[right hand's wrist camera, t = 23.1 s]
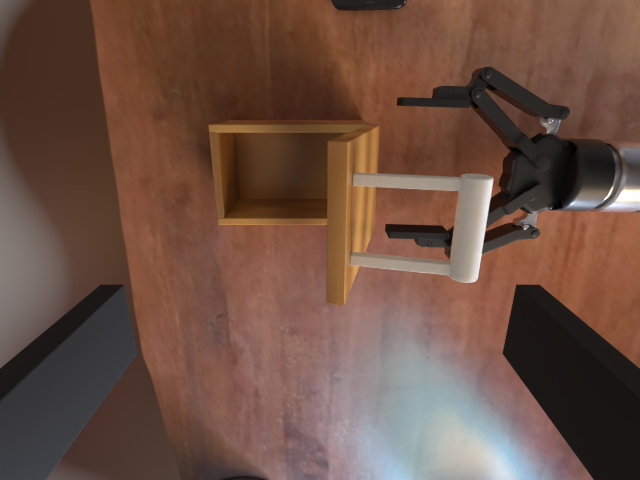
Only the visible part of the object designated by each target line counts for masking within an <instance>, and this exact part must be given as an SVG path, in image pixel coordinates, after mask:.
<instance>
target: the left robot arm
mask: <svg viewBox="0 0 640 480" xmlns="http://www.w3.org/2000/svg"><path fill="white" fill-rule="evenodd" d="M485 88H486V89H488V90H490V91H491V92H493V93H494V94H496V95H498V96H499V97H501V98H502V99H504V100H506V101H507V102H509V103H510V104H512V105H513V106H515V107H517V108H518V109H520V110H521V111H523V112H525V113H526V114H528V115H531V116H535V117H536V118H535V122H536V124H537V125H539V126H541V128H542V133H540V134H537V135H536V136H534V137H533V138H531V139H529V137H528V136H526V135H525V134H523V133H522V132H521V131H520V130H519V129H518V128H517V126H516V125H515V124H514V123H513V122H512V121H511V120H510V119H509V117H508V116H507V115H506V114H505V113H504V112H503V111H502V110H501V109H500V107H499V106H498V105H497V104H496V103H495V102H494V101H493V100H492V98H491V97H490V96H489V95H488V94H487V93H486V92H485V91H484V90H485ZM397 106H426V107H458V108H469V106H471V107H472V108H473V109H474V110H475V111H476V112H477V113H478V115H479V116H480V117H481V118H482V119H483V120H484V121H485V122H486V123H487V124H488V125H489V127H490V128H491V129H492V130H493V131H494V132H495V133H496V134H497V135H498V136H499V137H500V139H501V140H502V142H503V144H504V145H505V146H506V147H507V148H508V149H509V150H510V151H511V152H510V153H509V154H508V155H507V157H504V160H503V173H502V175H501V178H500V181H499V186H500V187H501V192H499V193H498V194H496V195H495V196H493V197H492V198H491V200H490V204H489V210H488V217H487V223H486V228H487V227H489V226H490V225H491V224H493V223H494V222H496V221H497V220H499V219H500V218H502V217H503V216H505V215H509V214H512V213H513V212H515V211H516V210H518V209H519V208H520V209H521V210H523V211H524V213H523V215H522V216H521V217H519V218H515V219H513V223H507V224H504V225H501V226H499V227H496V228H494V229H491V230H489V231H486V232H485V236H484V242H483V248H482V254H484V253H487V252H489V251H492V250H494V249H497V248H499V247H502V246H504V245H507V244H509V243H512V242H514V241H517V240H522V239H534V238H537V237H538V236H539V235H540V230H539V229H537V228H536V227H535V226H536V218H537V213H540V212H542V211H545V210H560V211H589V210H590V211H595V212H640V141H625V140H601V141H600V140H595V139H565V138H559V137H558V136H556V133H557V130H558V127H559V124H560V121H561V120H562V119H566V118H567V117H568V115H569V112H570V111H569V109H568V108H567V107H564V106H558V105H552V104H548V103H547V102H545V101H543V100H542V99H540V98H539V97H537V96H536V95H534V94H533V93H531V92H529V91H528V90H526V89H525V88H523V87H522V86H520V85H519V84H517V83H515V82H514V81H512V80H511V79H509V78H508V77H506V76H505V75H503V74H501V73H500V72H498V71H497V70H495V69H494V68H492V67H484V68H479V69H476V70H475V71H474V72H473V74H472V79H471V81H470V83H469V84H468V85H467V86H465V87H458V86H439V87H436V88H434V89H433V96H432V98H405V97H402V98H397ZM385 231H386V233H387V235H388V237H389V238H399V239H415V242H416V244H417V245H418V246H421V247H443V248H445V254H446V256H447V257H448V258H449V259H450V254H451V246H452V238H453V231H454V226H453V227H452V228H451V229H449V230H448V231H447V230H446V229H445V228H444V227H443V226H434V225H399V224H386V226H385ZM482 254H481V255H482Z"/></svg>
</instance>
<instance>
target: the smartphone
mask: <svg viewBox="0 0 640 480" xmlns="http://www.w3.org/2000/svg"><path fill="white" fill-rule="evenodd" d="M406 1H407V0H332V2H333V5H334V7H335V8H337V9H338V10H388V9H399V8H401V7H403V6H404V5H405V3H406Z"/></svg>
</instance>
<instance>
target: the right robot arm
mask: <svg viewBox="0 0 640 480" xmlns="http://www.w3.org/2000/svg"><path fill="white" fill-rule="evenodd" d="M136 355H137V350H136V345H135V339H134V334H133V329H132V324H131V319H130V314H129V309H128V304H127V299H126V295H125V289H124V285H100V286H99V287H97V288H96V289H95V290H94V291H93V292H91V293H90V294H89V295H88V296H87V297H85V298H84V299H83V300H82V301H81V302H79V303H78V304H77V305H76V306H75V307H73V308H72V309H71V310H70V311H69V312H68V313H66V314H65V315H64V316H63V317H62V318H60V319H59V320H58V321H57V322H56V323H54V324H53V325H52V326H51V327H50V328H48V329H47V330H46V331H45V332H44V333H42V334H41V335H40V336H39V337H38V338H36V339H35V340H34V341H33V342H32V343H30V344H29V345H28V346H27V347H26V348H24V349H23V350H22V351H21V352H20V353H18V354H17V355H16V356H15V357H14V358H12V359H11V360H10V361H9V362H8V363H6V364H5V365H4V366H3V367H2V368H1V369H0V480H46V479H47V478H48V476H49V475H50V473H51V472H52V471H53V469H54V468H55V467H56V465H57V464H58V463H59V461H60V460H61V458H62V457H63V456H64V454H65V453H66V451H67V450H68V449H69V447H70V446H71V445H72V443H73V442H74V440H75V439H76V438H77V436H78V435H79V434H80V432H81V431H82V429H83V428H84V427H85V425H86V424H87V422H88V421H89V420H90V418H91V417H92V416H93V414H94V413H95V411H96V410H97V409H98V407H99V406H100V405H101V403H102V402H103V400H104V399H105V398H106V396H107V395H108V394H109V392H110V391H111V389H112V388H113V387H114V385H115V384H116V382H117V381H118V380H119V378H120V377H121V376H122V374H123V373H124V371H125V370H126V369H127V367H128V366H129V364H130V363H131V362H132V360H133V359H134V358H135V356H136ZM503 355H504V356H505V358H506V359H507V360H508V362H509V363H510V365H511V366H512V367H513V369H514V370H515V371H516V373H517V374H518V376H519V377H520V378H521V380H522V381H523V382H524V384H525V385H526V387H527V388H528V389H529V391H530V392H531V394H532V395H533V396H534V398H535V399H536V400H537V402H538V403H539V405H540V406H541V407H542V409H543V410H544V411H545V413H546V414H547V416H548V417H549V418H550V420H551V421H552V422H553V424H554V425H555V427H556V428H557V429H558V431H559V432H560V434H561V435H562V436H563V438H564V439H565V440H566V442H567V443H568V445H569V446H570V447H571V449H572V450H573V451H574V453H575V454H576V456H577V457H578V458H579V460H580V461H581V463H582V464H583V465H584V467H585V468H586V469H587V471H588V472H589V474H590V475H591V476H592V478H593V479H594V480H640V368H638V367H637V366H636V365H635V364H634V363H632V362H631V361H630V360H629V359H628V358H626V357H625V356H624V355H623V354H622V353H620V352H619V351H618V350H617V349H616V348H614V347H613V346H612V345H611V344H610V343H608V342H607V341H606V340H605V339H604V338H602V337H601V336H600V335H599V334H598V333H596V332H595V331H594V330H593V329H592V328H590V327H589V326H588V325H587V324H586V323H584V322H583V321H582V320H581V319H580V318H578V317H577V316H576V315H575V314H574V313H572V312H571V311H570V310H569V309H568V308H567V307H565V306H564V305H563V304H562V303H561V302H559V301H558V300H557V299H556V298H555V297H553V296H552V295H551V294H550V293H549V292H547V291H546V290H545V289H544V288H543V287H541V286H540V285H516V289H515V294H514V299H513V304H512V309H511V314H510V319H509V324H508V329H507V334H506V339H505V345H504V350H503ZM228 480H261V479H257V478H251V477H238V478H232V479H228Z"/></svg>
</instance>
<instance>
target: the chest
mask: <svg viewBox="0 0 640 480" xmlns="http://www.w3.org/2000/svg"><path fill="white" fill-rule="evenodd" d="M366 125H372V124H370V123H367V122H365V121H364V120H227V121H224V122H219V123H214V124H209V125H208V127H209V138H210V149H211V159H212V169H213V180H214V190H215V200H216V211H217V218H218V219H217V220H218V225H327V165H328V141H330V140H333V139H335V138H337V137H340V136H342V135H345V134H347V133H349V132H352V131H354V130H357V129H359V128H362V127H364V126H366Z"/></svg>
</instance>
